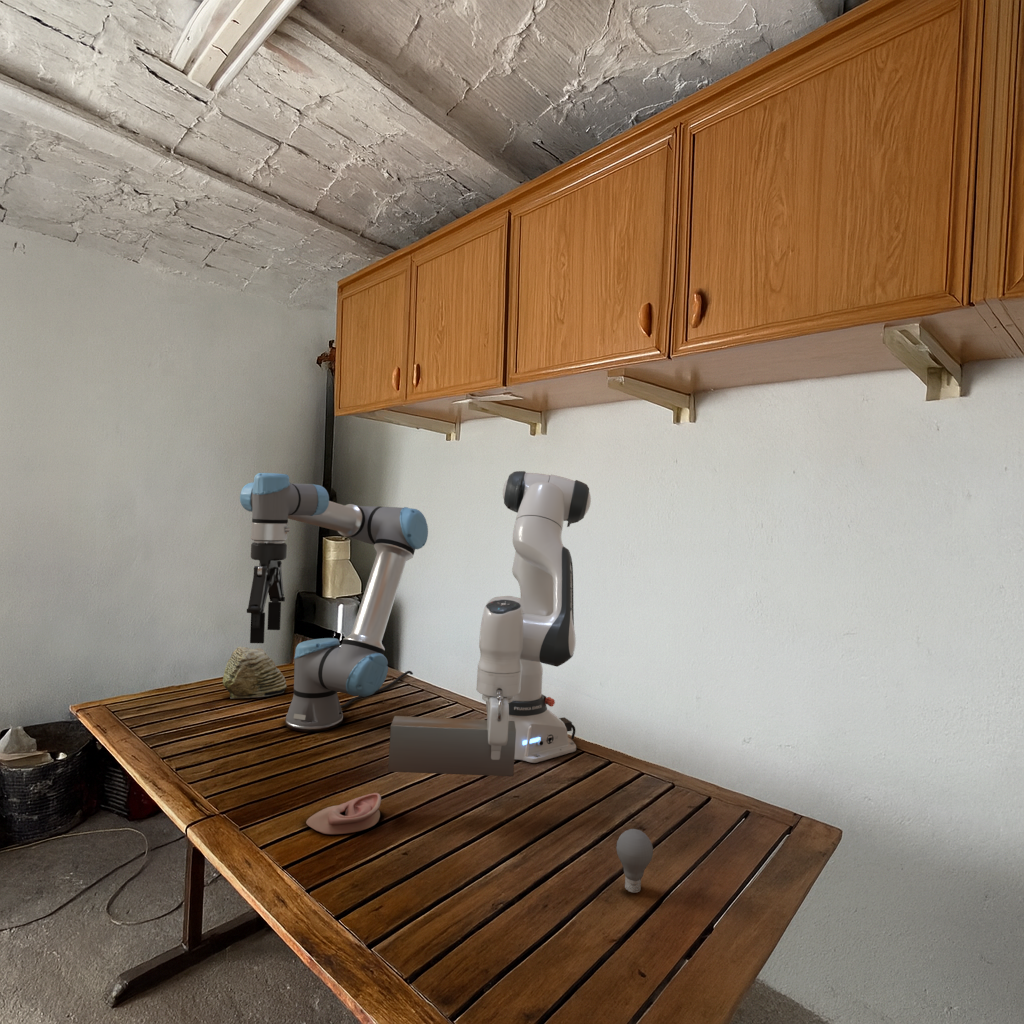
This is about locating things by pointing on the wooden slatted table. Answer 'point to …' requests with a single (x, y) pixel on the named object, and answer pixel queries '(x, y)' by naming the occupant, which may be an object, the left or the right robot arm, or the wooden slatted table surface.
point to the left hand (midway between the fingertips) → (265, 636)
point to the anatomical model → (347, 816)
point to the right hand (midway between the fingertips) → (494, 751)
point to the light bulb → (634, 857)
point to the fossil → (252, 674)
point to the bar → (447, 747)
